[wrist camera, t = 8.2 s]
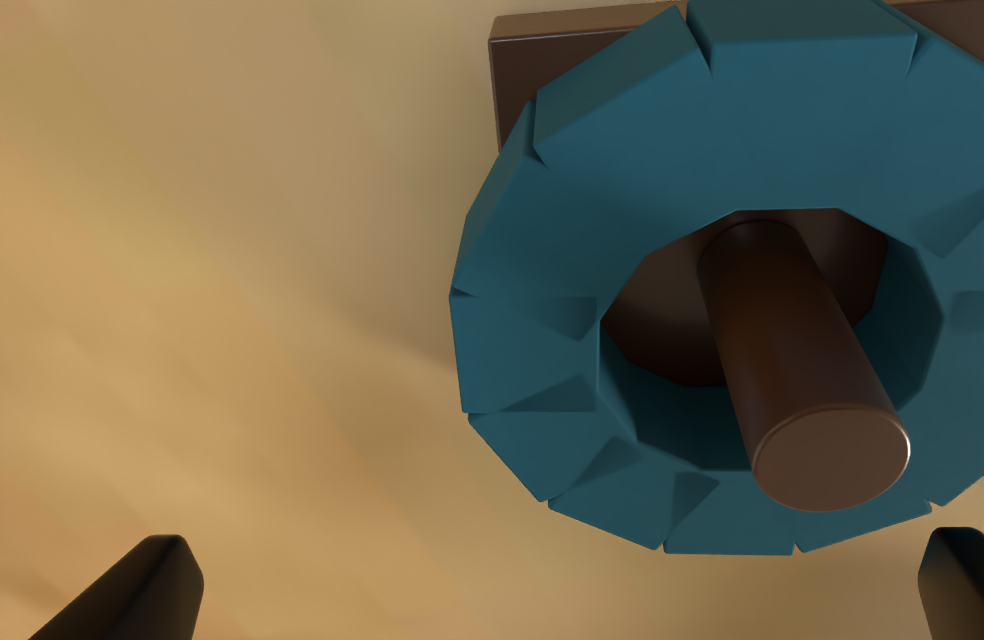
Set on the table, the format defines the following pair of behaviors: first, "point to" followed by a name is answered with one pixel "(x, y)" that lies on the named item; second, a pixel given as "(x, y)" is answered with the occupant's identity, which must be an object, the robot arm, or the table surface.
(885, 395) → the peg stand
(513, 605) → the table surface
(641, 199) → the loop
